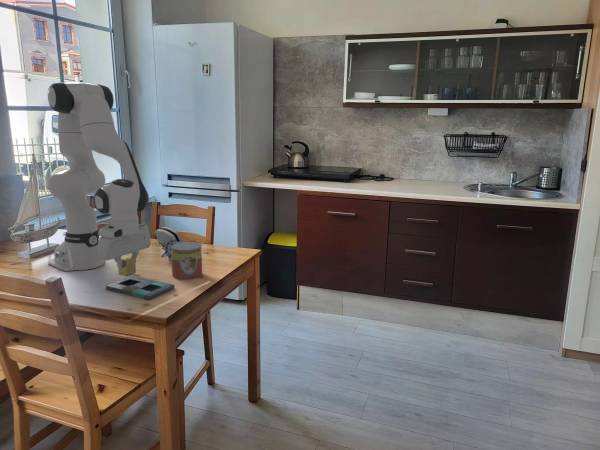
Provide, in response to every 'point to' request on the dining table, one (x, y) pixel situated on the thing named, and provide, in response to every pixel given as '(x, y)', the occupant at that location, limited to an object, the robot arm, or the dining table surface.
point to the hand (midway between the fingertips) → (126, 265)
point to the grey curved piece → (167, 235)
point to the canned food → (186, 260)
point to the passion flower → (169, 248)
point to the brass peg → (127, 266)
